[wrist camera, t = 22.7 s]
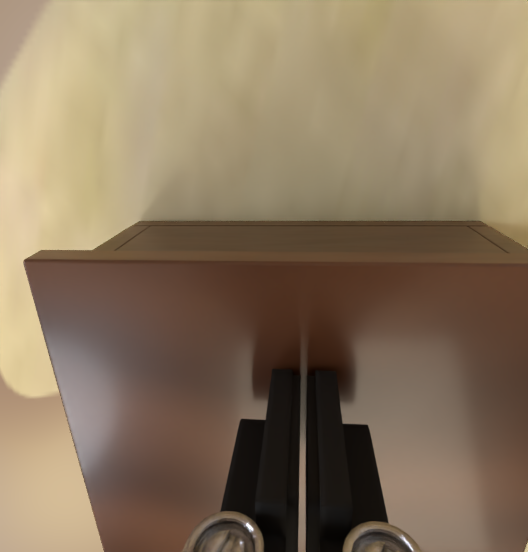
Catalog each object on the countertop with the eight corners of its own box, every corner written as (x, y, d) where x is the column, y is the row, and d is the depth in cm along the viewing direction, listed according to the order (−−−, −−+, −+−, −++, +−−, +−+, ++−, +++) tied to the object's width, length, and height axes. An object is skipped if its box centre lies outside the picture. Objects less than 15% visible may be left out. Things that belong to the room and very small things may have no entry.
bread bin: (138, 220, 17) (59, 269, 11) (481, 220, 16) (575, 275, 10) (176, 496, 22) (136, 616, 17) (430, 513, 21) (473, 648, 16)
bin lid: (39, 249, 11) (20, 259, 10) (601, 252, 9) (626, 265, 9) (135, 617, 17) (127, 641, 16) (473, 649, 16) (481, 676, 15)
